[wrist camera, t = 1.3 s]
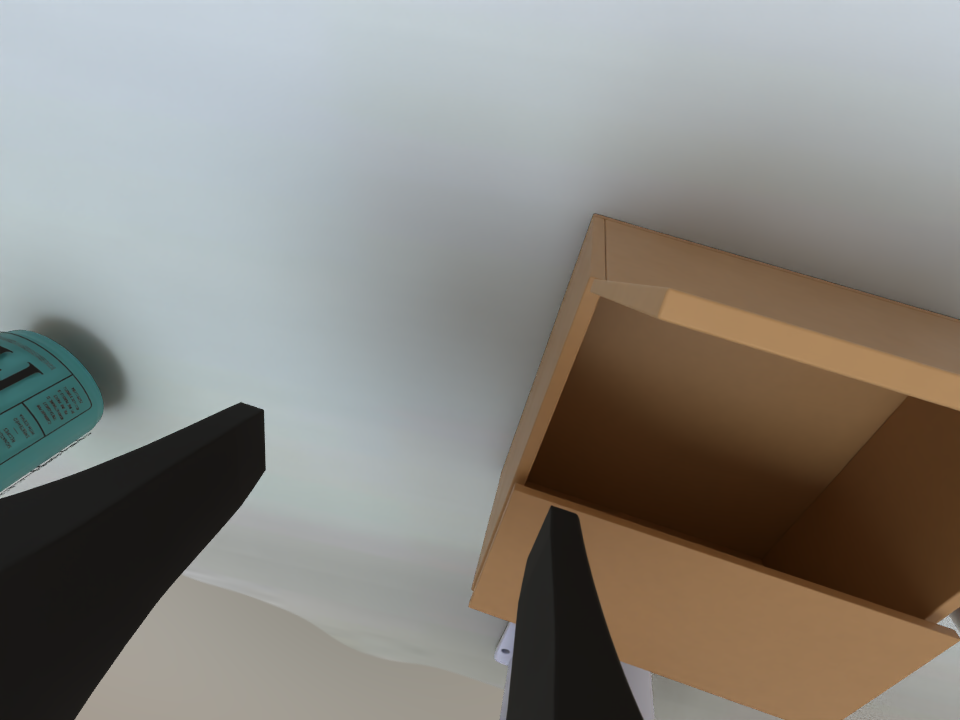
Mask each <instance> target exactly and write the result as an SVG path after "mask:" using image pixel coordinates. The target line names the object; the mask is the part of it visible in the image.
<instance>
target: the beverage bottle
mask: <svg viewBox="0 0 960 720" xmlns="http://www.w3.org/2000/svg"><path fill="white" fill-rule="evenodd" d="M103 409H104V406H103V399H102V396H101V393H100V390H99V388H98V386H97V384H96V382H95V381H94V379H93V378H92V376H91V375H90V373H89V372H88V371H87V369H86V368H85V367H84V366H83V365H82V364H81V363H80V361H79V360H78V359H76V358H75V357H74V356H73V355H72V354H71V353H70V352H69V351H68V350H66V349H65V348H64V347H62V346H61V345H60V344H58V343H56V342H55V341H53V340H51V339H49V338H47V337H45V336H43V335H41V334H38V333H35V332H31V331H26V330H15V331H9V332H1V333H0V492H1V491H3V490H4V489H5V488H7V487H8V486H10V485H11V484H13V483H14V482H16V481H17V480H19V479H20V478H22V477H23V476H24V475H26V474H27V473H29V472H32V470H33V469H35V468H37V467H39V468H40V466H39V465H40V464H42V463H43V462H45V461H46V460H48V459H49V458H51V457H52V456H54V455H55V454H57V453H58V452H61V453H62V452H63V451H61V450H62V449H64V448H65V447H67V446H68V445H70V444H71V443H73V442H74V441H77V442H78V440H77V439H79V438H80V437H82V436H83V435H84V434H86V433H87V432H89V431H90V430H92V429H93V428H94V426H95V425H96V424H97V423H98V421H99V420H100V419H101V417H102V414H103ZM90 434H91V433H89V435H90ZM89 435H88V436H89ZM86 436H87V435H86ZM85 438H86V437H85ZM83 439H84V437H83ZM80 440H81V439H80ZM80 440H79V441H80ZM77 442H76V443H77ZM76 443H74V444H76ZM74 444H73V445H74ZM71 446H72V445H71ZM71 446H70V447H71ZM72 447H73V446H72ZM67 449H68V448H67ZM64 451H66V450H64ZM58 455H59V454H58ZM58 455H57V456H58ZM59 456H60V455H59ZM54 458H57V457H56V456H55V457H54ZM50 460H51V461H52V460H53V458H52V459H50ZM50 460H49V461H48V462H49V463H50ZM48 462H46V463H48ZM46 463H45V465H47V464H46ZM45 465H42V466H43V467H44V466H45ZM36 470H37V469H36ZM36 470H33V472H34V471H36ZM38 470H39V469H38ZM33 472H32V473H33ZM30 474H31V473H30ZM30 474H29V475H30ZM27 476H28V475H27ZM27 476H26V477H27ZM23 480H24V478H23ZM20 481H22V480H20ZM17 483H18V482H17ZM14 485H15V484H14ZM14 485H13V487H15V486H14ZM17 485H18V484H17ZM13 487H12V486H11V487H10V488H13ZM10 488H8V489H10ZM8 489H7V490H8ZM5 491H6V490H5ZM5 491H4V492H5ZM8 491H9V490H8ZM1 495H2V493H1ZM1 495H0V496H1Z"/></svg>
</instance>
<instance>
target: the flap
mask: <svg viewBox="0 0 960 720" xmlns="http://www.w3.org/2000/svg"><path fill="white" fill-rule="evenodd" d="M590 292H591V293H594V294H596V295H599V296H601V297H604V298H606V299H609V300H611V301H614V302H616V303H619V304H621V305H624V306H626V307H629V308H631V309H634V310H636V311H639V312H641V313H644V314H646V315H649V316H651V317H654V318H656V319H659V320H662V321H665V322H669V323H672V324H675V325H679V326H682V327H685V328H688V329H692V330H695V331H698V332H702V333H705V334H708V335H711V336H715V337H718V338H721V339H725V340H728V341H731V342H734V343H738V344H741V345H744V346H748V347H751V348H754V349H757V350H761V351H764V352H767V353H771V354H774V355H777V356H780V357H784V358H787V359H790V360H794V361H797V362H800V363H803V364H807V365H810V366H813V367H817V368H820V369H823V370H826V371H830V372H833V373H836V374H840V375H843V376H846V377H849V378H853V379H856V380H859V381H863V382H866V383H869V384H872V385H876V386H879V387H882V388H886V389H889V390H892V391H895V392H899V393H902V394H905V395H909V396H912V397H915V398H918V399H922V400H925V401H928V402H931V403H935V404H938V405H941V406H945V407H948V408H951V409H954V410H958V411H960V374H957V373H954V372H951V371H947V370H944V369H941V368H937V367H934V366H931V365H927V364H924V363H921V362H917V361H914V360H911V359H907V358H904V357H900V356H897V355H894V354H890V353H887V352H884V351H880V350H877V349H874V348H870V347H867V346H864V345H860V344H857V343H854V342H850V341H847V340H844V339H840V338H837V337H834V336H830V335H827V334H824V333H820V332H817V331H814V330H810V329H807V328H804V327H800V326H797V325H794V324H790V323H787V322H784V321H780V320H777V319H774V318H770V317H767V316H763V315H760V314H757V313H753V312H750V311H747V310H743V309H740V308H737V307H733V306H730V305H727V304H723V303H720V302H717V301H713V300H710V299H707V298H703V297H700V296H697V295H693V294H690V293H687V292H683V291H680V290H677V289H673V288H667V287H659V286H650V285H641V284H633V283H624V282H616V281H607V280H598V279H594V281H593V284H592V287H591V290H590Z"/></svg>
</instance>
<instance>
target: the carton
mask: <svg viewBox="0 0 960 720" xmlns="http://www.w3.org/2000/svg"><path fill="white" fill-rule="evenodd" d="M594 279H598V280H607V281H616V282H624V283H633V284H641V285H650V286H659V287H667V288H673V289H677V290H680V291H683V292H687V293H690V294H693V295H697V296H700V297H703V298H707V299H710V300H713V301H717V302H720V303H723V304H727V305H730V306H733V307H737V308H740V309H743V310H747V311H750V312H753V313H757V314H760V315H763V316H767V317H770V318H774V319H777V320H780V321H784V322H787V323H790V324H794V325H797V326H800V327H804V328H807V329H810V330H814V331H817V332H820V333H824V334H827V335H830V336H834V337H837V338H840V339H844V340H847V341H850V342H854V343H857V344H860V345H864V346H867V347H870V348H874V349H877V350H880V351H884V352H887V353H890V354H894V355H897V356H900V357H904V358H907V359H911V360H914V361H917V362H921V363H924V364H927V365H931V366H934V367H937V368H941V369H944V370H947V371H951V372H954V373H957V374H960V320H958V319H955V318H951V317H948V316H944V315H941V314H937V313H934V312H931V311H927V310H924V309H920V308H917V307H913V306H910V305H907V304H903V303H900V302H896V301H893V300H889V299H886V298H883V297H879V296H876V295H872V294H869V293H865V292H862V291H859V290H855V289H852V288H848V287H845V286H841V285H838V284H835V283H831V282H828V281H824V280H821V279H817V278H814V277H811V276H807V275H804V274H800V273H797V272H793V271H790V270H787V269H783V268H780V267H776V266H773V265H769V264H766V263H763V262H759V261H756V260H752V259H749V258H745V257H742V256H739V255H735V254H732V253H728V252H725V251H721V250H718V249H715V248H711V247H708V246H704V245H701V244H697V243H694V242H691V241H687V240H684V239H680V238H677V237H673V236H670V235H667V234H663V233H660V232H656V231H653V230H649V229H646V228H643V227H639V226H636V225H632V224H629V223H625V222H622V221H619V220H615V219H612V218H608V217H605V216H601V215H598V214H593V216H592V219H591V222H590V225H589V228H588V231H587V233H586V236H585V239H584V242H583V245H582V247H581V250H580V253H579V256H578V259H577V261H576V264H575V267H574V270H573V273H572V276H571V278H570V281H569V284H568V287H567V290H566V292H565V295H564V298H563V301H562V304H561V306H560V309H559V312H558V315H557V318H556V321H555V323H554V326H553V329H552V332H551V335H550V337H549V340H548V343H547V346H546V349H545V351H544V354H543V357H542V360H541V363H540V365H539V368H538V371H537V374H536V377H535V380H534V382H533V385H532V388H531V391H530V394H529V396H528V399H527V402H526V405H525V408H524V410H523V413H522V416H521V419H520V422H519V425H518V427H517V430H516V433H515V436H514V439H513V441H512V444H511V447H510V450H509V453H508V455H507V458H506V461H505V464H504V467H503V470H502V472H501V476H500V480H499V484H498V488H497V492H496V496H495V499H494V503H493V507H492V511H491V515H490V519H489V523H488V527H487V530H486V534H485V538H484V542H483V546H482V550H481V554H480V557H479V561H478V565H477V569H476V573H475V577H474V581H473V584H472V588H471V589H472V591H473V594H472V596H471V599H470V602H469V607H470V608H473V609H475V610H478V611H481V612H484V613H487V614H489V615H492V616H495V617H498V618H501V619H503V620H506V621H509V622H512V623H515V624H516V618H517V609H518V601H519V596H520V591H521V586H522V581H523V576H524V571H525V567H526V562H527V558H528V556H529V554H530V551H531V549H532V547H533V545H534V542H535V540H536V538H537V536H538V533H539V531H540V529H541V527H542V524H543V522H544V520H545V517H546V515H547V513H548V511H549V508H550V506H551V505H552V506H555V507H558V508H561V509H564V510H567V511H570V512H573V513H576V514H577V515H578V517H579V519H580V525H581V530H582V535H583V540H584V544H585V549H586V553H587V557H588V561H589V565H590V569H591V573H592V577H593V580H594V584H595V587H596V591H597V594H598V597H599V601H600V604H601V607H602V610H603V614H604V617H605V620H606V623H607V626H608V629H609V632H610V635H611V638H612V641H613V643H614V646H615V649H616V652H617V655H618V657H619V660H620V661H621V662H624V663H627V664H630V665H633V666H635V667H638V668H641V669H644V670H647V671H649V672H652V673H655V674H658V675H661V676H663V677H666V678H669V679H672V680H675V681H677V682H680V683H683V684H686V685H689V686H691V687H694V688H697V689H700V690H703V691H705V692H708V693H711V694H714V695H717V696H720V697H722V698H725V699H728V700H731V701H734V702H736V703H739V704H742V705H745V706H748V707H750V708H753V709H756V710H759V711H762V712H764V713H767V714H770V715H773V716H776V717H778V718H781V719H784V720H843V719H844V718H846V717H847V716H849V715H850V714H852V713H853V712H855V711H856V710H858V709H859V708H861V707H862V706H864V705H865V704H867V703H868V702H870V701H871V700H873V699H874V698H876V697H877V696H879V695H880V694H881V693H883V692H884V691H886V690H887V689H889V688H890V687H892V686H893V685H895V684H896V683H898V682H899V681H901V680H902V679H904V678H905V677H907V676H908V675H910V674H911V673H913V672H914V671H916V670H917V669H919V668H920V667H922V666H923V665H925V664H926V663H928V662H929V661H931V660H932V659H934V658H935V657H936V656H938V655H939V654H941V653H942V652H944V651H945V650H947V649H948V648H950V647H951V646H953V645H954V644H956V643H957V642H959V641H960V638H959V636H958V634H957V633H956V631H955V630H953V629H950V628H947V627H944V626H941V625H938V624H937V623H938V622H939V621H941V620H942V619H944V618H945V617H946V616H948V615H949V614H950V613H952V612H953V611H955V610H956V609H957V608H959V607H960V411H958V410H954V409H951V408H948V407H945V406H941V405H938V404H935V403H931V402H928V401H925V400H922V399H918V398H915V397H912V396H909V395H905V394H902V393H899V392H895V391H892V390H889V389H886V388H882V387H879V386H876V385H872V384H869V383H866V382H863V381H859V380H856V379H853V378H849V377H846V376H843V375H840V374H836V373H833V372H830V371H826V370H823V369H820V368H817V367H813V366H810V365H807V364H803V363H800V362H797V361H794V360H790V359H787V358H784V357H780V356H777V355H774V354H771V353H767V352H764V351H761V350H757V349H754V348H751V347H748V346H744V345H741V344H738V343H734V342H731V341H728V340H725V339H721V338H718V337H715V336H711V335H708V334H705V333H702V332H698V331H695V330H692V329H688V328H685V327H682V326H679V325H675V324H672V323H669V322H665V321H662V320H659V319H656V318H654V317H651V316H649V315H646V314H644V313H641V312H639V311H636V310H634V309H631V308H629V307H626V306H624V305H621V304H619V303H616V302H614V301H611V300H609V299H606V298H604V297H601V296H599V295H596V294H594V293H591V292H590V290H591V287H592V284H593V281H594Z"/></svg>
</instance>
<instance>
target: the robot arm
mask: <svg viewBox="0 0 960 720" xmlns="http://www.w3.org/2000/svg"><path fill="white" fill-rule="evenodd" d="M265 470H266V466H265V432H264V410H263V409H260V408H257V407H254V406H251V405H248V404H244V403H238V404H236V405H234V406H231V407H229V408H227V409H225V410H222V411H220V412H218V413H216V414H214V415H212V416H209V417H207V418H205V419H203V420H201V421H199V422H196V423H194V424H192V425H190V426H188V427H186V428H184V429H181V430H179V431H177V432H175V433H172V434H170V435H168V436H166V437H163V438H161V439H159V440H157V441H155V442H152V443H150V444H148V445H146V446H143V447H141V448H139V449H136V450H134V451H131V452H129V453H126V454H124V455H121V456H119V457H116V458H114V459H112V460H109V461H107V462H104V463H102V464H99V465H97V466H94V467H92V468H89V469H87V470H84V471H82V472H79V473H76V474H73V475H71V476H68V477H65V478H62V479H60V480H57V481H54V482H51V483H48V484H45V485H42V486H39V487H36V488H33V489H30V490H27V491H24V492H21V493H18V494H14V495H11V496H8V497H4V498H1V499H0V720H74V719H75V718H76V716H77V715H78V713H79V712H80V710H81V709H82V707H83V706H84V704H85V703H86V701H87V700H88V698H89V697H90V695H91V694H92V692H93V691H94V689H95V688H96V687H97V685H98V684H99V682H100V681H101V679H102V678H103V677H104V675H105V674H106V672H107V671H108V670H109V668H110V667H111V665H112V664H113V662H114V661H115V659H116V658H117V657H118V655H119V654H120V652H121V651H122V650H123V648H124V646H125V645H126V644H127V643H128V641H129V640H130V639H131V637H132V636H133V634H134V633H135V632H136V630H137V629H138V628H139V626H140V625H141V624H142V622H143V621H144V620H145V618H146V617H147V615H148V614H149V613H150V611H151V610H152V608H153V607H154V606H155V604H156V603H157V602H158V601H159V600H160V598H161V597H162V596H163V595H164V594H165V592H166V591H167V590H168V589H169V587H170V586H171V585H172V584H173V583H174V582H175V580H176V579H177V578H178V577H179V576H180V575H181V574H182V573H183V571H184V570H185V569H186V568H187V567H188V566H189V565H190V564H191V562H192V561H193V560H194V559H195V558H196V557H197V556H198V555H199V553H200V552H201V551H202V550H203V549H204V548H205V547H206V545H207V544H208V543H209V542H210V541H211V540H212V539H213V538H214V536H215V535H216V534H217V533H218V532H219V531H220V530H221V528H222V527H223V526H224V525H225V524H226V523H227V522H228V520H229V519H230V518H231V517H232V516H233V515H234V513H235V512H236V511H237V510H238V509H239V508H240V506H241V505H242V504H243V502H244V501H245V499H246V498H247V497H248V495H249V494H250V492H251V491H252V490H253V488H254V487H255V485H256V484H257V482H258V481H259V479H260V477H261V476H262V474H263V473H264V471H265ZM494 658H495V660H496V661H497V662H499V663H502V664H504V665H507V666H508V671H507V678H506V684H505V690H504V696H503V702H502V709H501V715H500V720H655V715H654V703H653V691H652V679H651V672H649V671H647V670H644V669H641V668H638V667H635V666H633V665H630V664H627V663H624V662H621V661H620V660H619V657H618V655H617V652H616V649H615V646H614V643H613V641H612V638H611V635H610V632H609V629H608V626H607V623H606V620H605V617H604V614H603V610H602V607H601V604H600V601H599V597H598V594H597V591H596V587H595V584H594V580H593V577H592V573H591V569H590V565H589V561H588V557H587V553H586V549H585V544H584V540H583V535H582V530H581V525H580V519H579V517H578V515H577V514H576V513H573V512H570V511H567V510H564V509H561V508H558V507H555V506H552V505H551V506H550V508H549V511H548V513H547V515H546V517H545V520H544V522H543V524H542V527H541V529H540V531H539V533H538V536H537V538H536V540H535V542H534V545H533V547H532V549H531V551H530V554H529V556H528V558H527V562H526V567H525V571H524V576H523V581H522V586H521V591H520V596H519V601H518V609H517V618H516V624H515V623H512V622H509V623H508V625H507V627H506V630H505V632H504V634H503V636H502V638H501V640H500V642H499V644H498V646H497V648H496V650H495V654H494Z"/></svg>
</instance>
